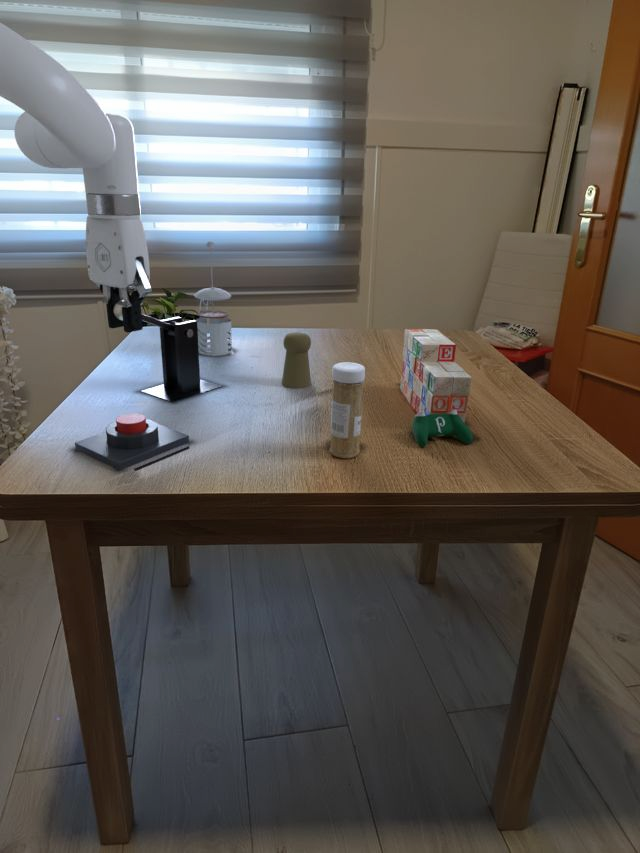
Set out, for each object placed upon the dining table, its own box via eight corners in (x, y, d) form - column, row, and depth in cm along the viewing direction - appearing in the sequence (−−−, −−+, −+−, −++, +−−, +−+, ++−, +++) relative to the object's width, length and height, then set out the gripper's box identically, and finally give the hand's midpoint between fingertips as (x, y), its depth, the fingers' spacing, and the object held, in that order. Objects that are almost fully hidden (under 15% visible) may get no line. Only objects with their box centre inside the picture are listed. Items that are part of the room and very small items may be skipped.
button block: (120, 478, 76) (117, 450, 74) (76, 456, 81) (72, 430, 79) (189, 448, 85) (188, 423, 83) (146, 431, 90) (144, 407, 88)
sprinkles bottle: (365, 456, 84) (371, 368, 79) (338, 461, 82) (343, 372, 77) (349, 444, 88) (354, 359, 83) (323, 449, 86) (326, 363, 81)
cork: (300, 396, 108) (302, 338, 103) (274, 390, 110) (274, 333, 106) (317, 388, 112) (319, 332, 108) (292, 382, 115) (293, 328, 111)
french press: (201, 363, 125) (195, 243, 116) (184, 350, 134) (178, 238, 125) (243, 358, 130) (241, 243, 120) (224, 346, 139) (220, 238, 129)
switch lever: (119, 319, 90) (124, 299, 89) (106, 315, 91) (112, 296, 91) (188, 342, 102) (193, 325, 102) (176, 339, 104) (180, 322, 104)
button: (129, 437, 79) (127, 426, 78) (111, 430, 81) (109, 418, 80) (152, 429, 82) (151, 417, 81) (134, 422, 84) (133, 411, 83)
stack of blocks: (464, 431, 95) (474, 358, 90) (427, 431, 94) (435, 358, 89) (430, 389, 114) (437, 328, 110) (399, 389, 114) (404, 327, 109)
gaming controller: (466, 449, 92) (458, 415, 94) (476, 441, 89) (467, 405, 91) (412, 453, 90) (405, 418, 92) (420, 444, 87) (412, 408, 89)
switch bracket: (173, 408, 99) (168, 330, 94) (140, 397, 104) (133, 321, 99) (223, 391, 108) (220, 319, 103) (190, 381, 113) (186, 312, 108)
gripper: (59, 205, 87) (75, 324, 94) (127, 210, 79) (138, 342, 86) (102, 205, 93) (114, 317, 100) (170, 210, 84) (178, 333, 91)
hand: (125, 327), depth 93 cm, fingers closed on switch lever, 3 cm apart
